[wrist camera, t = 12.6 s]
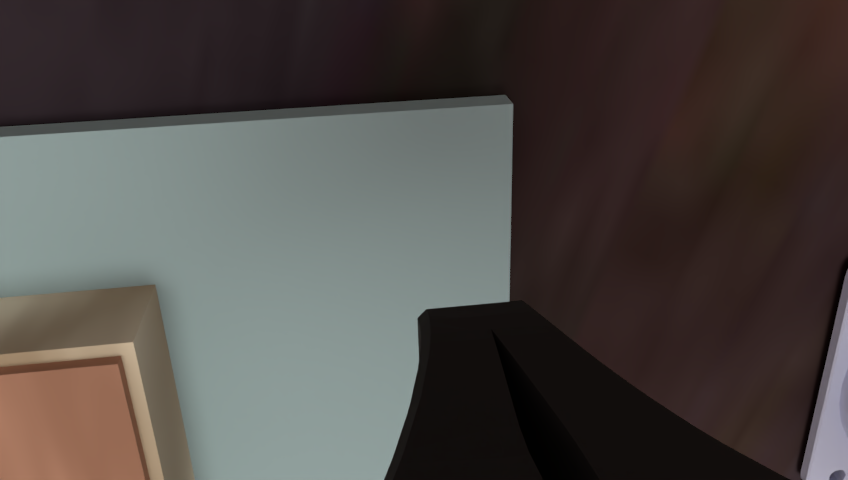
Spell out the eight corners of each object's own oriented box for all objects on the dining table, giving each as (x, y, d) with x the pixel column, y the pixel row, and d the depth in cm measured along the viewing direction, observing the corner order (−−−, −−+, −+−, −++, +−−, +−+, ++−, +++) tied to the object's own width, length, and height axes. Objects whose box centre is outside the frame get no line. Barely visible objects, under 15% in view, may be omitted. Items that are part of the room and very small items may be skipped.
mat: (505, 94, 18) (513, 103, 18) (498, 538, 24) (504, 558, 24) (-285, 144, 17) (-312, 156, 16) (-81, 609, 23) (-95, 633, 22)
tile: (130, 350, 16) (-245, 384, 15) (185, 595, 19) (-125, 634, 18) (155, 284, 18) (-165, 311, 18) (201, 510, 21) (-71, 541, 21)
